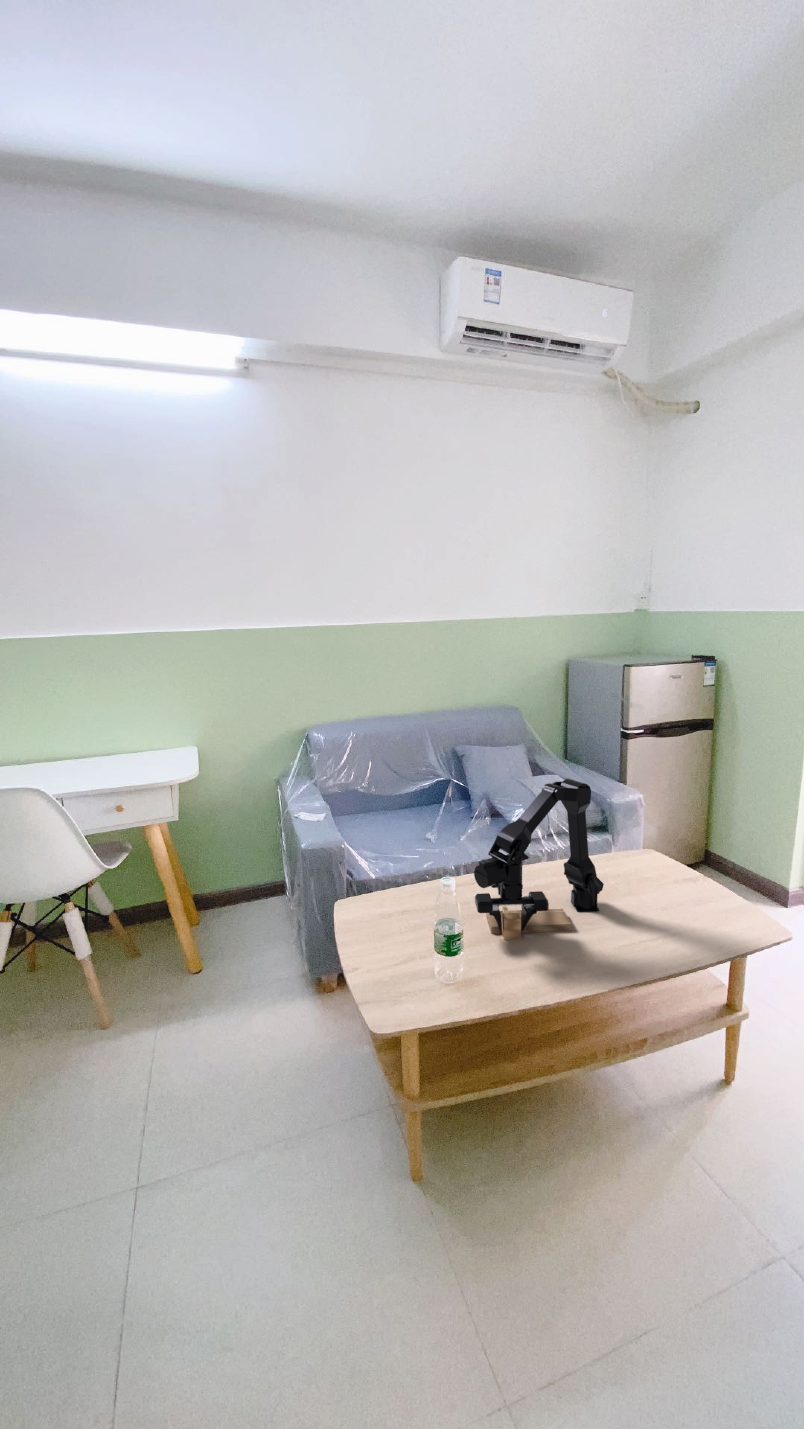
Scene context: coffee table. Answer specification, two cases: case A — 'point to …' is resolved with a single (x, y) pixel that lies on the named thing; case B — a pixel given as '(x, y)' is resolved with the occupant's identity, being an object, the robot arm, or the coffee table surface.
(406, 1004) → the coffee table surface
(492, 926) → the board
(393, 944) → the coffee table surface
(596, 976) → the coffee table surface
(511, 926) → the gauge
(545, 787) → the robot arm
